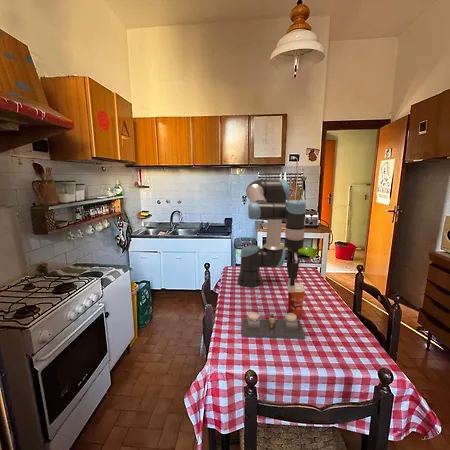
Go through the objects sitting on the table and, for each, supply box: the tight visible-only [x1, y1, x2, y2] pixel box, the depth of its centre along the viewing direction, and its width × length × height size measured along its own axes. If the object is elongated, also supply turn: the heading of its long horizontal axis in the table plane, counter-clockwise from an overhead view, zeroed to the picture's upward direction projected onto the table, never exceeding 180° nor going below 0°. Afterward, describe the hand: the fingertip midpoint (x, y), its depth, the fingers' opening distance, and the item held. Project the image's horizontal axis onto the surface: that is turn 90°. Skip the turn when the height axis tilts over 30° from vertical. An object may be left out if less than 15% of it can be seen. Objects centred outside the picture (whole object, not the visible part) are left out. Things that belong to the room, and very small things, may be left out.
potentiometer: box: [268, 313, 276, 328], centre depth 115 cm, size 3×3×6 cm
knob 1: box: [247, 311, 260, 321], centre depth 115 cm, size 5×5×5 cm
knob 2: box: [284, 313, 298, 322], centre depth 115 cm, size 5×5×5 cm
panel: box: [241, 316, 306, 340], centre depth 115 cm, size 11×26×5 cm, turn 88°
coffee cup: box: [287, 282, 306, 319], centre depth 128 cm, size 8×8×15 cm
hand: (291, 291), depth 114 cm, fingers closed
